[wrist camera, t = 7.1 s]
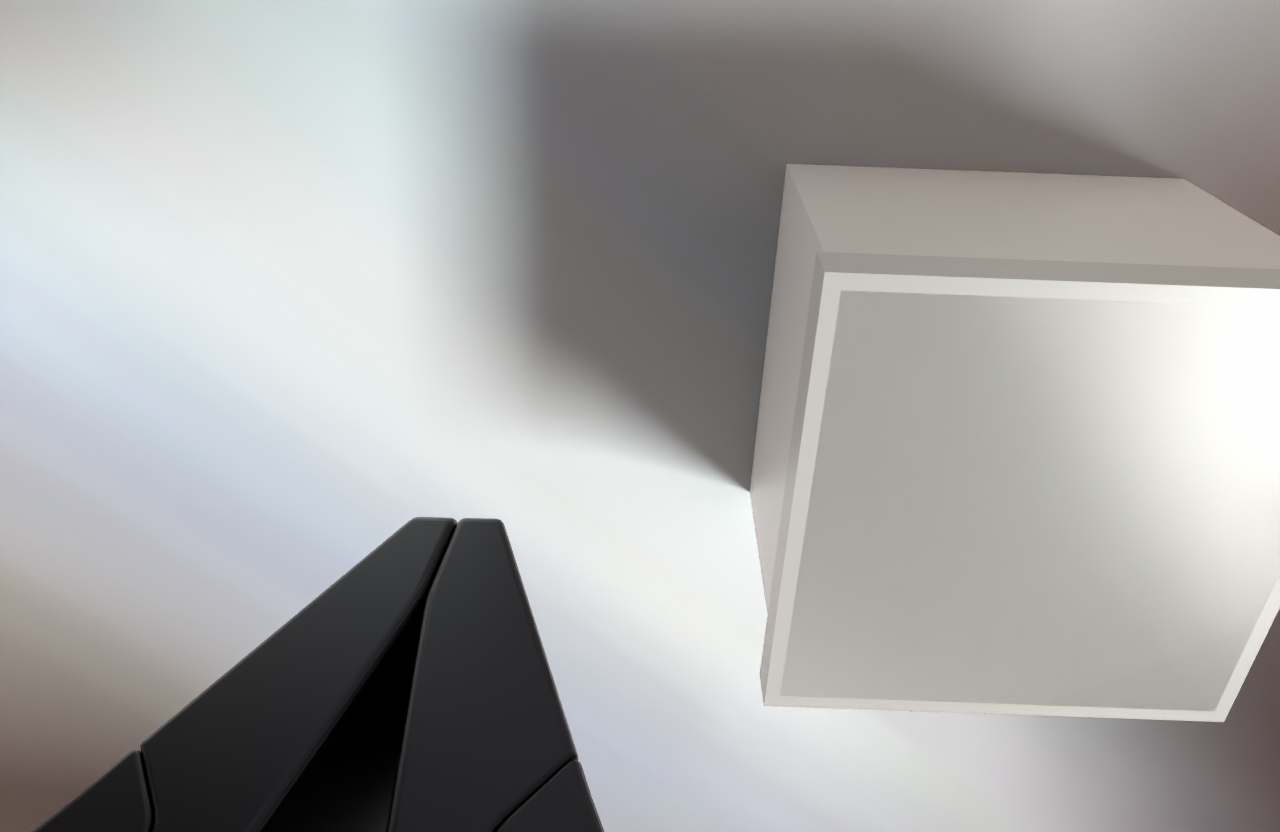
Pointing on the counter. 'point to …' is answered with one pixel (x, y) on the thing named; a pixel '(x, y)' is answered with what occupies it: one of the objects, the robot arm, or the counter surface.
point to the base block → (1017, 445)
